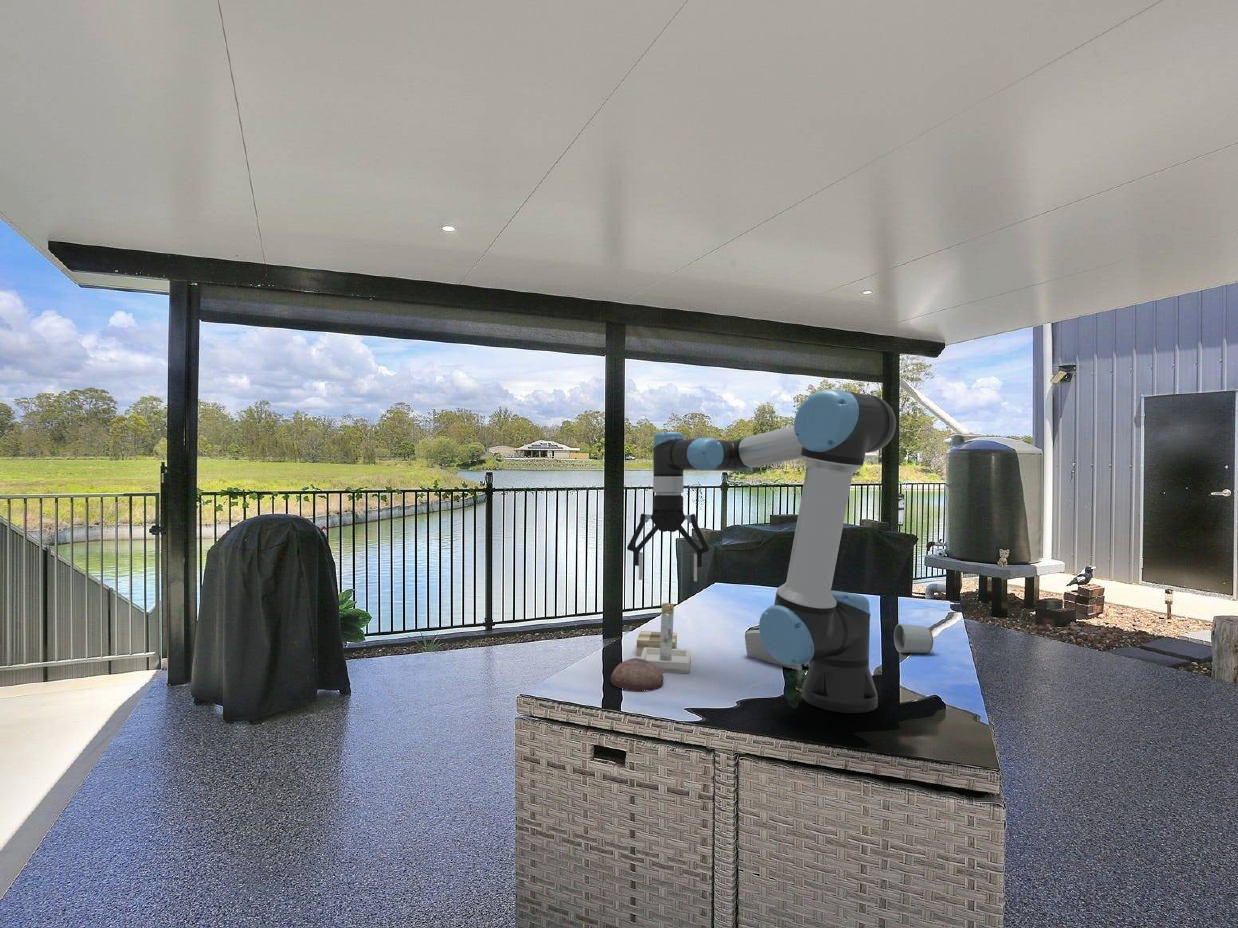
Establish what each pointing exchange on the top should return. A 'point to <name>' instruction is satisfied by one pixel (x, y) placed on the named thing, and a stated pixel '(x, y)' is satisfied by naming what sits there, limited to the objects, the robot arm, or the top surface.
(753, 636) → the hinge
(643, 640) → the socket block
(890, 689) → the top surface
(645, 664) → the decorative stone
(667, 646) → the pin
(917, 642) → the grey hollow cylinder
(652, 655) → the tray
